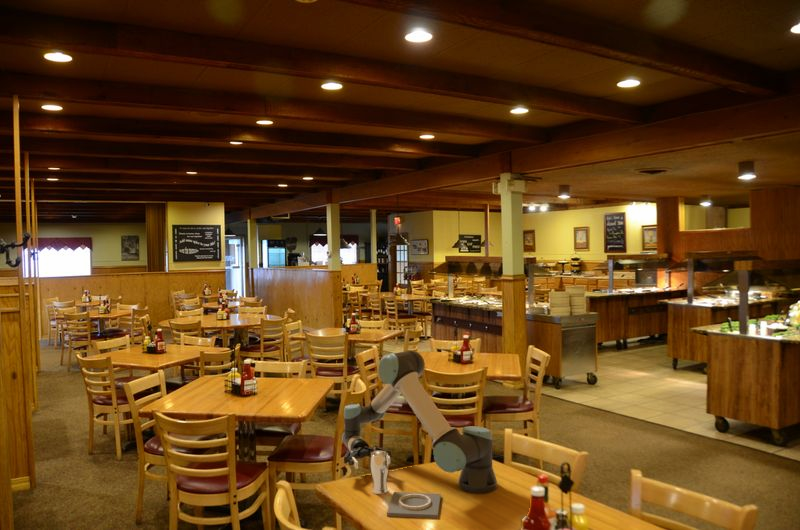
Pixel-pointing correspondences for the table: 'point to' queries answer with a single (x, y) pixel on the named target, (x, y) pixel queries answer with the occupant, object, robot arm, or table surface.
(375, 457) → the beer glass
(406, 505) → the coaster board
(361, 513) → the table surface
